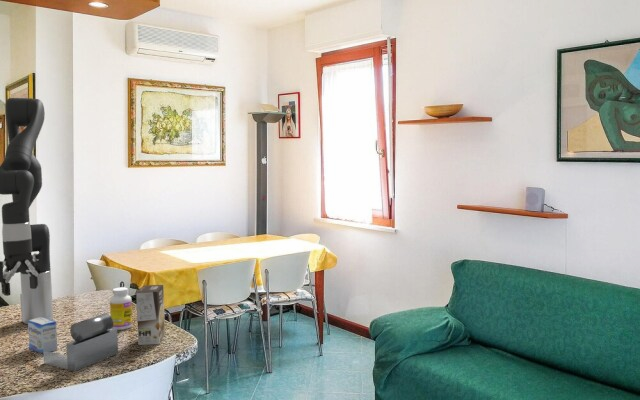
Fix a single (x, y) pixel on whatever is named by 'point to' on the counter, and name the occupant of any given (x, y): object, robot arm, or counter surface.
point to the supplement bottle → (121, 309)
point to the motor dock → (87, 344)
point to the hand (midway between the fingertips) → (20, 291)
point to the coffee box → (150, 314)
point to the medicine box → (42, 335)
